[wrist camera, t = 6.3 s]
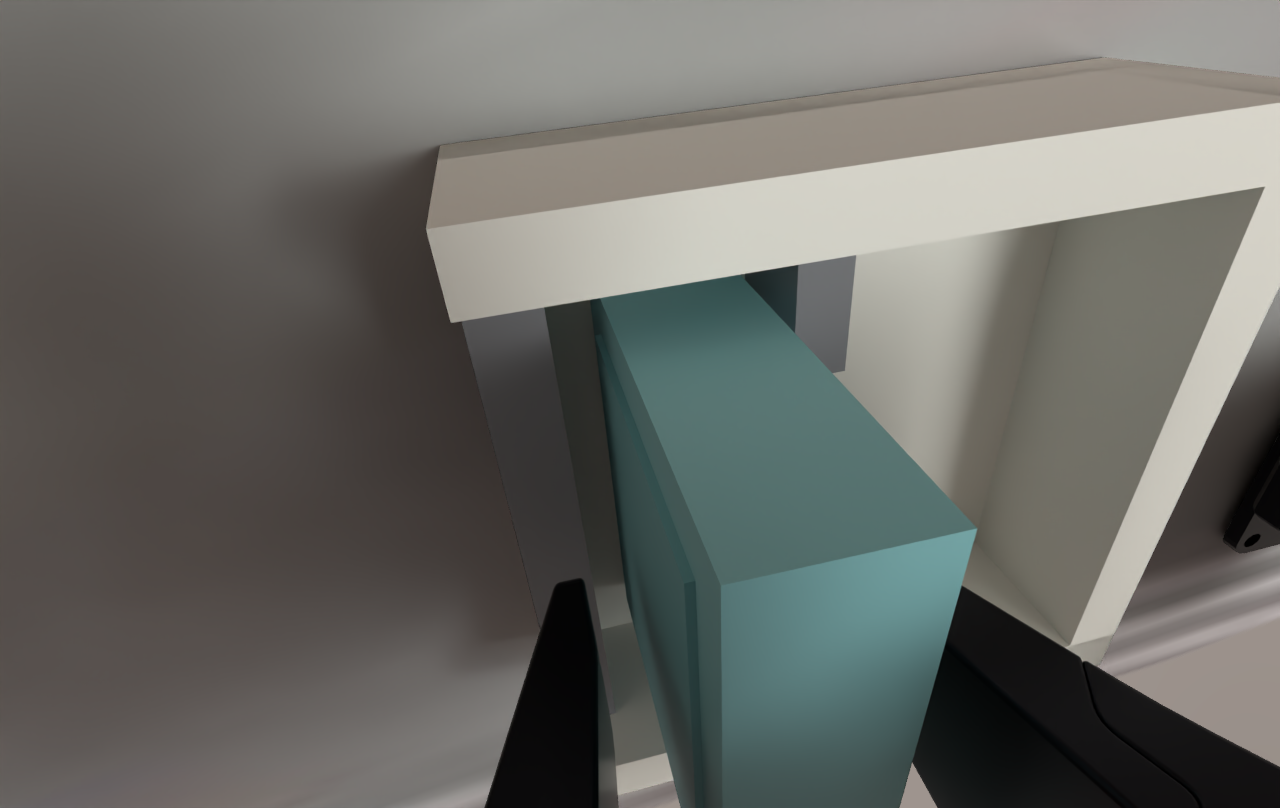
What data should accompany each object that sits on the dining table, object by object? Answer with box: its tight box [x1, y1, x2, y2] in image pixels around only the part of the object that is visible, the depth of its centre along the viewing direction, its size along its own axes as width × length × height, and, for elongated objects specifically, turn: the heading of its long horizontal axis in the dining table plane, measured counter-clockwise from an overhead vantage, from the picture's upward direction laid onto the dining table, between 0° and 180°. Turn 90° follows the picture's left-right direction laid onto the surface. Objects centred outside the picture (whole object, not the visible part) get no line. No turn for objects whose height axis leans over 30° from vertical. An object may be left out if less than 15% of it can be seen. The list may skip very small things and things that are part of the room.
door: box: [590, 275, 977, 808], centre depth 9 cm, size 2×7×6 cm, turn 4°
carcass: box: [426, 57, 1280, 795], centre depth 12 cm, size 11×11×4 cm
